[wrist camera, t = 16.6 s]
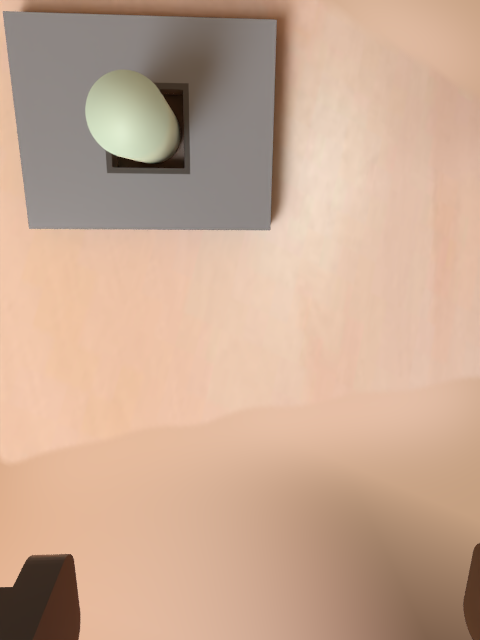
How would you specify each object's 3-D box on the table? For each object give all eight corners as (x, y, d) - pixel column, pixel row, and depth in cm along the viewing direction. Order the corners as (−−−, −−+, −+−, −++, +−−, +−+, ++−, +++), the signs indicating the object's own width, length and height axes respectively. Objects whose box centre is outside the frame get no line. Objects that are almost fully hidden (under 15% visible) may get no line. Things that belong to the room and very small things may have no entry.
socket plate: (273, 28, 33) (276, 19, 31) (267, 227, 37) (270, 230, 35) (15, 21, 32) (2, 11, 30) (39, 226, 36) (29, 228, 34)
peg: (179, 101, 34) (166, 70, 24) (181, 164, 35) (168, 158, 26) (119, 100, 34) (81, 68, 24) (123, 163, 35) (88, 157, 25)
